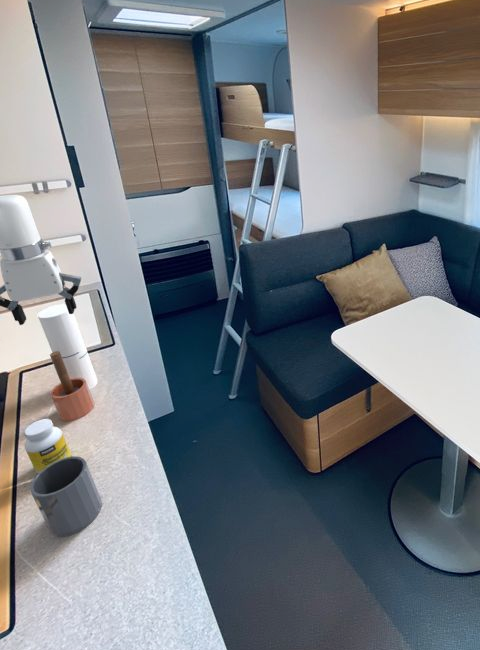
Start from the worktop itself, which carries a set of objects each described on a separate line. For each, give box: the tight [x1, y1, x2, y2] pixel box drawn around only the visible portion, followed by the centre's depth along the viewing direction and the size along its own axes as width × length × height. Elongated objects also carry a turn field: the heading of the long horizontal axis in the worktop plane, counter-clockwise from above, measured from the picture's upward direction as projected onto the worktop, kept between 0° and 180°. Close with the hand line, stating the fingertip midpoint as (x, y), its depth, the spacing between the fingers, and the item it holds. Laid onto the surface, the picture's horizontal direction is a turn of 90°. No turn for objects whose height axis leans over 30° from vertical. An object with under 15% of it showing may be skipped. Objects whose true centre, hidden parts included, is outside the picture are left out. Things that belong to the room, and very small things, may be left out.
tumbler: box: [29, 455, 103, 538], centre depth 79 cm, size 9×9×11 cm
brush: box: [49, 351, 79, 396], centre depth 104 cm, size 4×4×18 cm
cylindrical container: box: [37, 303, 98, 390], centre depth 112 cm, size 7×7×25 cm
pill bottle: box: [24, 418, 72, 475], centre depth 90 cm, size 6×6×12 cm
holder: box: [49, 378, 95, 422], centre depth 106 cm, size 8×8×8 cm
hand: (48, 316), depth 98 cm, fingers open, 9 cm apart
